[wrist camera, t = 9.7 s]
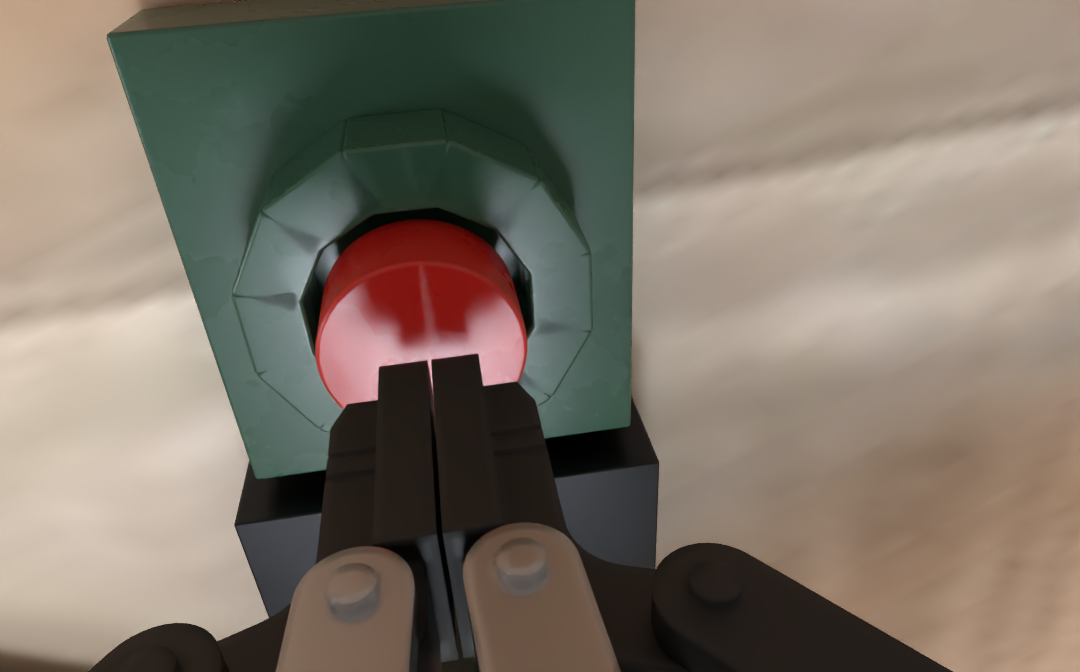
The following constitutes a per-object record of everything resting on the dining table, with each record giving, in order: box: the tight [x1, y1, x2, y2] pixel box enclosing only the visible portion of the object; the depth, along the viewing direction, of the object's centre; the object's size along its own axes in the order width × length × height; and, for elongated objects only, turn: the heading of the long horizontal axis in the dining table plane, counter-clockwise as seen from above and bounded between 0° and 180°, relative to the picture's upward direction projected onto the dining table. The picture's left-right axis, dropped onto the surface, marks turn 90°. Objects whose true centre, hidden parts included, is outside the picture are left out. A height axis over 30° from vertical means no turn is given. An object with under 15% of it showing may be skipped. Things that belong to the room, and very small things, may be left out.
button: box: [315, 219, 527, 410], centre depth 14 cm, size 4×4×2 cm
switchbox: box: [107, 0, 635, 480], centre depth 16 cm, size 10×9×4 cm
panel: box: [235, 396, 659, 618], centre depth 23 cm, size 12×10×3 cm
